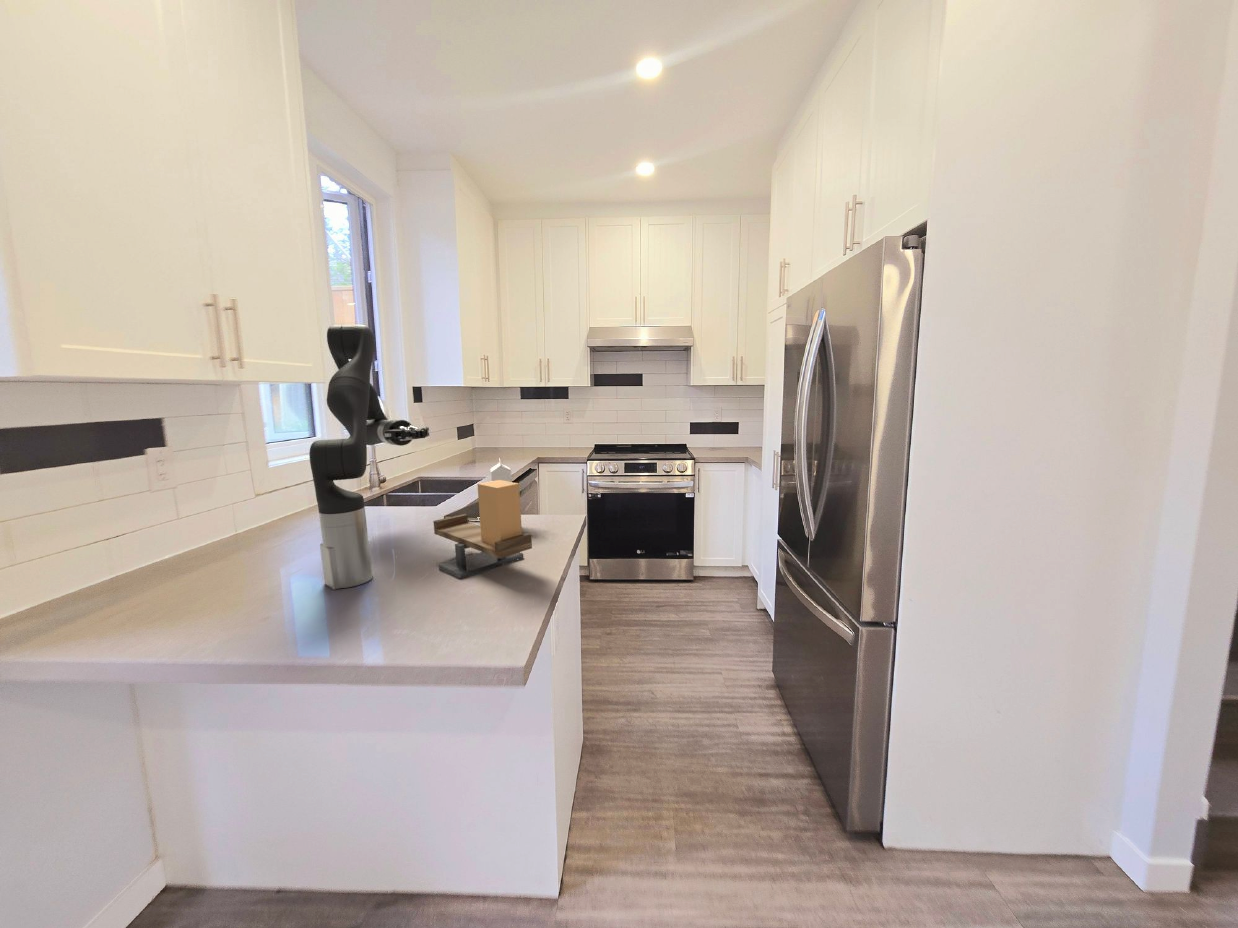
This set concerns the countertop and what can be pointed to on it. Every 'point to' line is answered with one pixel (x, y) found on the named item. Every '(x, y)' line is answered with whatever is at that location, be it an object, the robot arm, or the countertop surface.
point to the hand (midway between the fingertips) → (421, 434)
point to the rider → (499, 510)
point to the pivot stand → (474, 562)
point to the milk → (501, 472)
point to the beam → (479, 537)
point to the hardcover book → (467, 512)
